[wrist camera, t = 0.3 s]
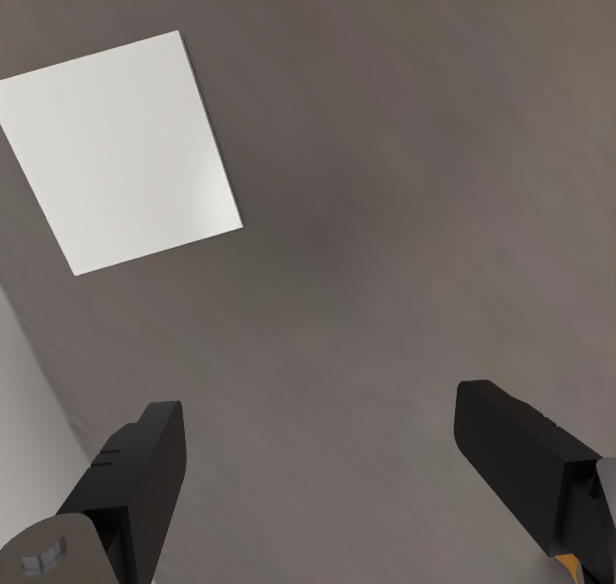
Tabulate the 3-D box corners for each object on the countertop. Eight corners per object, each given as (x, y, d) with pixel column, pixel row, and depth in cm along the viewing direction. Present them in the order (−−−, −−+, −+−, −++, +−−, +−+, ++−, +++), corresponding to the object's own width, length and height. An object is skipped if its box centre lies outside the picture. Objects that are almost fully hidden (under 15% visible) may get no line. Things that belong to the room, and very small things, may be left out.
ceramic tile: (-5, 90, 25) (-19, 85, 24) (182, 37, 25) (177, 30, 24) (82, 272, 29) (74, 275, 28) (244, 226, 29) (242, 227, 28)
